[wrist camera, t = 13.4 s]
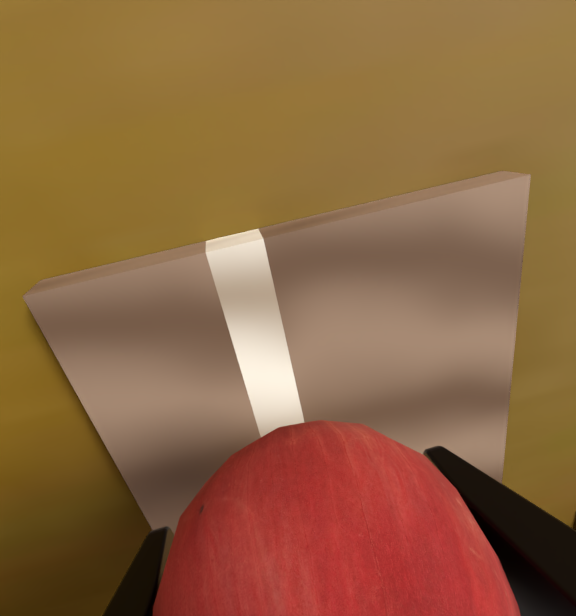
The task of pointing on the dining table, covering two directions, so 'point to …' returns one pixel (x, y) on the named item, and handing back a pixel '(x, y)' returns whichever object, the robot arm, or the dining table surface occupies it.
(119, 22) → the dining table surface
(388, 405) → the board
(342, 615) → the onion
